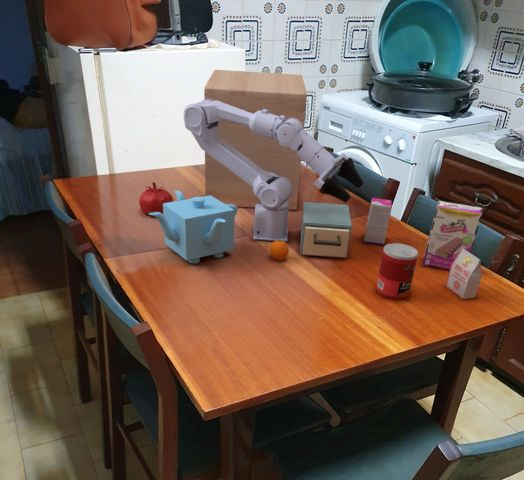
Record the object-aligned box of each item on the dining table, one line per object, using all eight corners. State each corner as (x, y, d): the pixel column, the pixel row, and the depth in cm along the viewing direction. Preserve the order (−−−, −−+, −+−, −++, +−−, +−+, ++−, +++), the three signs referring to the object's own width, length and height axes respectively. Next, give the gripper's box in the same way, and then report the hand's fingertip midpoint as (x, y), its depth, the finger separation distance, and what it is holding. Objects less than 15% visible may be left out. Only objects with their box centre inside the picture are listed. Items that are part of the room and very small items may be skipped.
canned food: (402, 303, 127) (412, 260, 121) (370, 293, 130) (378, 250, 124) (413, 291, 132) (423, 249, 126) (382, 281, 136) (390, 240, 130)
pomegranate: (164, 221, 161) (162, 190, 155) (134, 215, 163) (131, 184, 158) (179, 210, 169) (178, 180, 163) (149, 205, 171) (147, 175, 166)
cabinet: (347, 258, 146) (352, 225, 141) (300, 254, 146) (303, 222, 141) (343, 235, 159) (347, 204, 154) (300, 232, 159) (303, 201, 154)
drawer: (346, 266, 140) (351, 239, 136) (302, 262, 140) (305, 236, 136) (342, 236, 156) (346, 211, 152) (302, 233, 156) (305, 208, 152)
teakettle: (240, 243, 150) (241, 190, 142) (224, 273, 135) (225, 215, 127) (173, 235, 153) (171, 183, 144) (151, 263, 137) (147, 206, 129)
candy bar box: (421, 266, 144) (436, 205, 135) (423, 258, 148) (437, 199, 139) (465, 274, 142) (483, 213, 132) (466, 266, 146) (483, 206, 136)
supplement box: (384, 245, 154) (392, 206, 148) (363, 243, 155) (370, 203, 149) (384, 238, 159) (392, 199, 152) (364, 235, 160) (370, 197, 153)
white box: (457, 284, 137) (468, 247, 131) (475, 297, 132) (487, 259, 126) (445, 286, 136) (455, 248, 130) (462, 299, 130) (474, 260, 125)
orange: (268, 262, 142) (269, 243, 139) (269, 254, 146) (270, 235, 143) (287, 263, 141) (289, 245, 138) (288, 255, 146) (289, 237, 143)
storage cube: (296, 210, 174) (307, 93, 154) (205, 205, 173) (204, 87, 153) (292, 177, 202) (301, 74, 182) (214, 173, 201) (214, 69, 182)
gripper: (309, 158, 132) (351, 197, 133) (337, 133, 140) (375, 169, 141) (296, 177, 138) (336, 214, 139) (323, 152, 146) (360, 186, 147)
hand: (355, 192), depth 140 cm, fingers open, 7 cm apart
